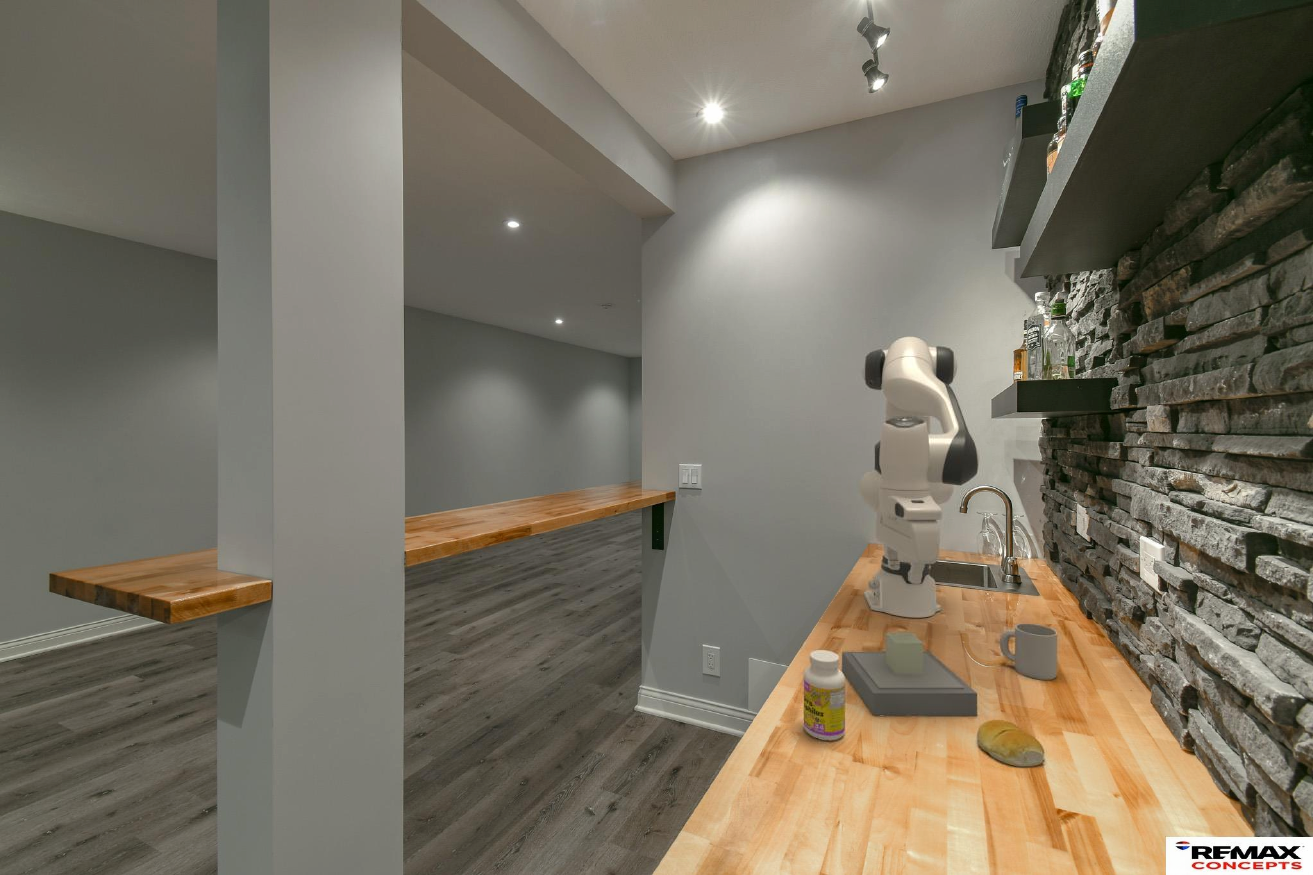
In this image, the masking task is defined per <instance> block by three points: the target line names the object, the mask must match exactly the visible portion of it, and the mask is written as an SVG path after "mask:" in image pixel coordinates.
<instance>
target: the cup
mask: <svg viewBox="0 0 1313 875" xmlns="http://www.w3.org/2000/svg"><path fill="white" fill-rule="evenodd" d="M1011 638H1014V653H1012V652H1011V651H1010V647H1009V641H1010V639H1011ZM999 648H1000V651H1001V653H1002V656H1004V657H1005V659H1006V660H1009V661H1010V662H1013V663H1014V668H1015V670H1016V671H1017V673H1018V674H1021V675H1022V676H1024V677H1027V678H1029V679H1035V680H1040V681H1051V680H1054V679H1055V678H1056V677H1058V631H1057V630H1055V629H1054V628H1052V627H1050V626H1045V625H1042V624H1036V623H1030V622H1029V623H1027V622H1026V623H1025V622H1023V623H1022V622H1021V623H1016V624H1015V626H1014V629H1006V630H1004V631H1003V632H1002V633H1001V635H1000V638H999Z"/></svg>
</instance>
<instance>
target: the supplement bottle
mask: <svg viewBox="0 0 1313 875" xmlns="http://www.w3.org/2000/svg"><path fill="white" fill-rule="evenodd" d="M809 663H810V665H808V667H806V668H805V670H804V672H803V728H804V730H805V732H806V733H807V734H809V735H810V736H811V737H813V738H815V739H817V738H818V740H821V741H827V740H828V741H827V742H829V741H837V740H839V739H841V738H842V737H843V736H844V734H845V732H846V676H845V674H844V673H843V671H842V670H841V669H839V668H838V667H839V666H840V656H839V655H838V654H837V653H836V652H833V651H830V650H825V649H818V650H813V651H811V652H810V654H809Z"/></svg>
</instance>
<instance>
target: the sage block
mask: <svg viewBox="0 0 1313 875" xmlns="http://www.w3.org/2000/svg"><path fill="white" fill-rule="evenodd" d="M885 652H886V664H887V665H888V667H889V668H890V669H891V670H892V671H893V672H894V673H895V674H896V675H923V652H924V642H922V641H921V640H920V639H919V638H918V637H917V636H916V635H915V634H913V633H912V632H885Z"/></svg>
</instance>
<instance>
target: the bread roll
mask: <svg viewBox="0 0 1313 875" xmlns="http://www.w3.org/2000/svg"><path fill="white" fill-rule="evenodd" d="M976 735H977V738H976V739H977V743H978V745H979V747H980V749H981V750H983V751H984V752H986V753H989V754H990V756H991V757H992V758H994V759H996V760H998V761H1000V762H1001V763H1003V764H1007V765H1010V766H1014V767H1035V766H1039V765H1041V764H1042V763H1043V761H1044V756H1045V749H1044V747H1043V745H1042V743H1041V742H1040V741H1039V740H1038V739H1037V738H1035V737H1034V736H1033V735H1032V734H1030V733H1028V731H1027V732H1026V731H1024V730H1022V729H1021V728H1020V727H1019V726H1018V725H1017V724H1015V723H1013V722H1011V721H1008V720H1004V719H992V720H988V721H985V722H983V723H982V724H981V725H980V726H979V728H978V730H977V734H976Z"/></svg>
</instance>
